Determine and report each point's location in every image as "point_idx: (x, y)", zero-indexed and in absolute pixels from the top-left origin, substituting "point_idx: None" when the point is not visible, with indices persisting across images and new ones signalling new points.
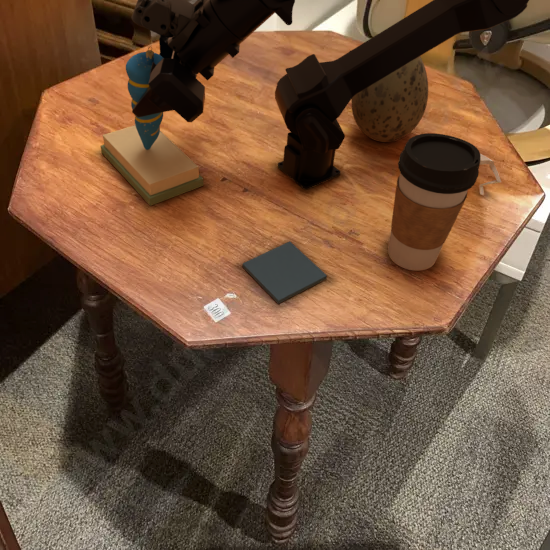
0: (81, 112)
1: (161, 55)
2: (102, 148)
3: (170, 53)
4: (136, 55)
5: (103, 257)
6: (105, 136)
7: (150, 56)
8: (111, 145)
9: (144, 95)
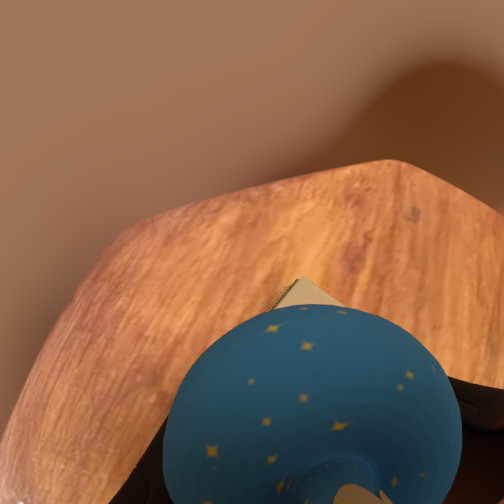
0: (382, 209)
1: (483, 438)
2: (291, 285)
3: (500, 474)
4: (354, 372)
5: (47, 381)
6: (299, 283)
7: None
8: (276, 307)
9: (135, 469)
